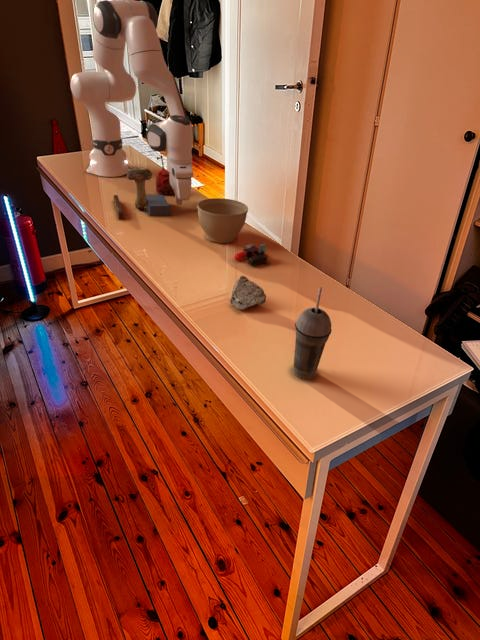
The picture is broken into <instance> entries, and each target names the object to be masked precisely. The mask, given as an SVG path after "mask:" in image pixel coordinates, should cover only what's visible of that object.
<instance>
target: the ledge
mask: <svg viewBox="0 0 480 640" xmlns="http://www.w3.org/2000/svg"><path fill="white" fill-rule="evenodd" d="M118 195H119V194H113V196H112V197H113V203H114V207H115V211H116V214H117V218H118V220H119V221H121V220H124V211H123V208H122V205H121V201H120V198H119V196H118Z"/></svg>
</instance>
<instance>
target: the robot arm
mask: <svg viewBox="0 0 480 640" xmlns="http://www.w3.org/2000/svg"><path fill="white" fill-rule="evenodd" d="M92 9H93V10H92V22H93V24H94V33H93V34H94V37H93V44H92V58H93V59H94V61H95V63H96V64H97V65H98V66H99V67H101V68H102V69H104V70H103V71H90V70H89V71H87V70H86V71H80V72H77V73H74V74H73V75H72V77H71V79H70V83H69V85H70V90H71V93H72V95H73V97H74V98H75V99H76V100H77V101H78V102H80V103H81V105H83V106H84V107H85V109H86V110H87V112H88V114H89V117H90V120H91V127H92V135H93V136H92V147H93V148H92V150H91V151H90V153H89V154H88V159H89V160H90V161H89V165H88V166H87V169H86V173H87V174H92V175H95V176H98V177H107V178H115V177H116V178H117V177H121V176H122V177H123V176H124V175H127V173H128V172H129V171H130V170H131V169H132V168H130V167H128V159H127V158H128V157H127V152H126V151H125V150H124V149H123V138H122V133H121V131H122V130H121V120H120V118H119V117H118V115H116V113H114V112H112V111H109V110H108V109H107V107H106V104H107V103H126V102H129V101H132V100H134V98H135V96H136V93H137V85H136V81H135V79H134V78H133V77H132V75H131V74H130V73H129V72H128V71H127V69H126V67H125V61H124V60H125V52H126V51H125V50H126V46H127V52H128V57H129V62H130V66H131V70H132V72H133V75H134V77H136V78H137V80H138V81H140V82H141V83H143V84H144V85H146V86H148V87H150V88H152V89H154V90H156V91H158V92H159V93H160V94H161V95H162V96H163V98H164V100H165V104H166V107H167V111H168V113H169V116H168V118H167V119H165V120H161V121H159V122H154V123H151V124H149V126H148V127H147V129H146V134H145V135H146V137H145V138H146V142H147V145H148V147H149V148H150V149H151V150H152V151H154V152H158V153H159V152H160V153H163V152H164V153H166V171H168V172H170V174H169V182H170V185H171V186H172V188H173V190H174V195H175V196H174V197H175V203H176V205H177V206H182V205H183V201H189V200H190V198H191V193H192V179H193V178H194V169H193V154H192V149H193V143H194V139H195V131H194V128H193V125H192V122H191V119H189V117H188V114H187V111H186V108H185V104H184V101H183V98H182V95H181V92H180V89H179V86H178V83H177V80H176V78H175V76H174V74H173V73H172V71H170V70H169V67H168V65H167V63H166V61H165V58H164V54H163V50H162V46H161V42H160V38H159V35H158V31H157V28H158V25H159V20H158V14H157V11H156V9H155V7H154V5H153V4H152V3H150V2H149V1H145V0H100V1H97V2H96V3H95V4H94V7H93V8H92Z"/></svg>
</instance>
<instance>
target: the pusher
mask: <svg viewBox="0 0 480 640" xmlns="http://www.w3.org/2000/svg"><path fill="white" fill-rule="evenodd" d="M146 198H147V205H146V207H145V208H146V210H147V214H148V215H149V216H150V217H155V216H156V217H157V216H159V217H161V216H170V213H171V212H170V210H171V209H170V208H171V206H170V204H169V202H168V200H167V198H166V197H165V195H163V194H162V195H161V194H146Z"/></svg>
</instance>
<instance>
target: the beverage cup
mask: <svg viewBox="0 0 480 640" xmlns="http://www.w3.org/2000/svg"><path fill="white" fill-rule="evenodd" d="M322 292H323V287H322V286H319V287H318V293H317V298H316V303H315V304H316V305H315V307H309V308H306V309H304V310H303V311H302V312H300V314H299V315H298V317H297V319H296V321H295V324H294V328H295V329H294V330H295V345H294V356H293V374H294V376H295V377H296V378H297V379H300V380H303V381H304V380H305V381H306V380H307V381H309V380H312V379H314V377H315V375H316V373H317V371H318V368H319V365H320V363H321V362H320V361H321V359H322V355H323V353H324V349H325V346H326V343H327V342H328V341H329V338H330V335H331V334H332V321H331V318H330V315H329V314H328V313H327V312H326V311H325V310H323V309H321V308H319V306H320V301H321V296H322Z"/></svg>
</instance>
